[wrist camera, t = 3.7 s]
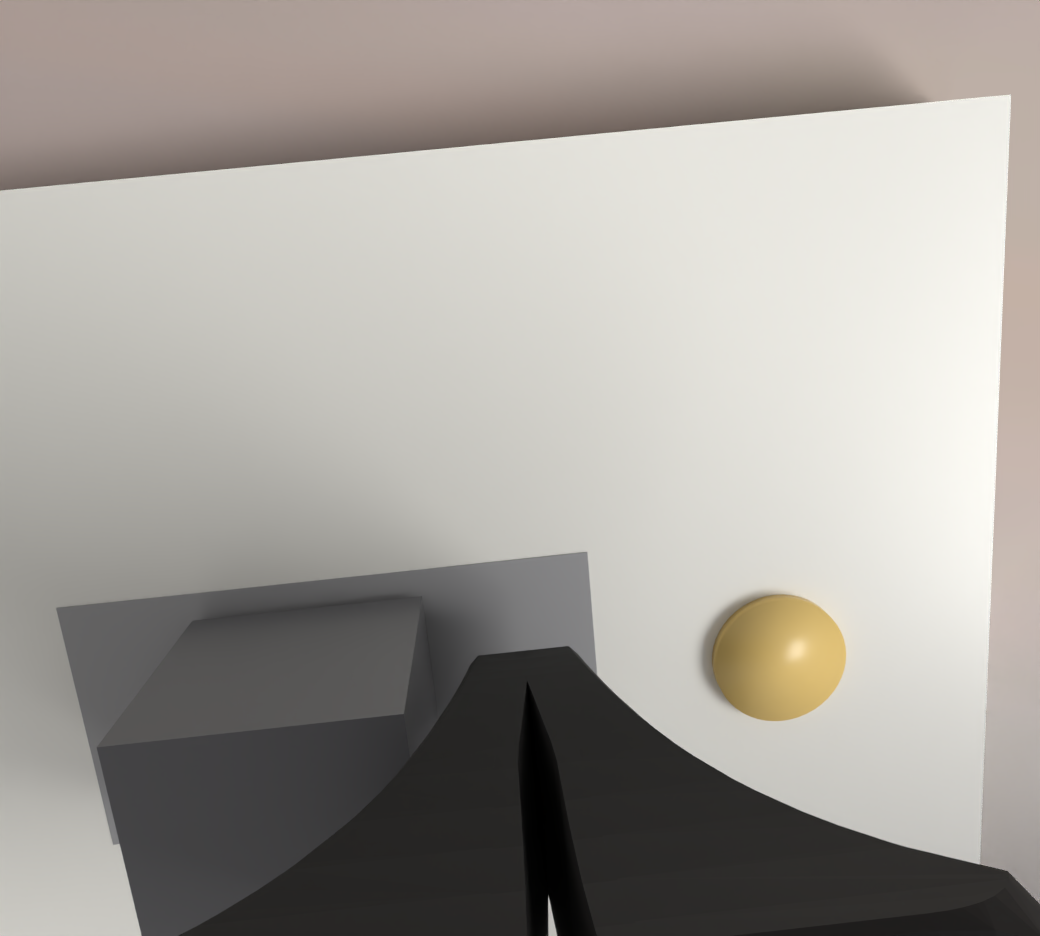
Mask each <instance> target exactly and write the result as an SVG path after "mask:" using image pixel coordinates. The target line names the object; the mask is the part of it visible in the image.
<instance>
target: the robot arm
mask: <svg viewBox="0 0 1040 936" xmlns="http://www.w3.org/2000/svg"><path fill="white" fill-rule="evenodd" d="M548 896H549V900H550V905H551V910H552V914H553V919H554V924H555V928H556V933H557V936H1040V904H1039V903H1038V902H1037V901H1036V900H1035V899H1034V898H1033V897H1032V896H1031V895H1030V894H1029V893H1028V892H1027V891H1026V890H1025V889H1024V888H1023V887H1022V886H1021V885H1020V884H1019V883H1018V882H1017V880H1016V879H1015V878H1014V877H1013V876H1012V875H1011V874H1010V873H1009V872H1008V871H1004V870H1000V869H996V868H992V867H988V866H984V865H980V864H975V863H971V862H967V861H963V860H959V859H955V858H950V857H946V856H942V855H938V854H934V853H930V852H925V851H921V850H917V849H913V848H909V847H905V846H901V845H898V844H894V843H891V842H888V841H885V840H882V839H879V838H876V837H873V836H870V835H866V834H863V833H860V832H857V831H854V830H851V829H848V828H845V827H842V826H839V825H836V824H834V823H831V822H829V821H826V820H823V819H821V818H818V817H815V816H813V815H810V814H808V813H805V812H803V811H800V810H798V809H796V808H793V807H791V806H789V805H787V804H785V803H782V802H780V801H778V800H776V799H773V798H771V797H769V796H767V795H765V794H762V793H760V792H758V791H756V790H754V789H752V788H750V787H748V786H746V785H744V784H742V783H740V782H738V781H736V780H734V779H732V778H731V777H729V776H727V775H725V774H724V773H722V772H720V771H719V770H717V769H715V768H714V767H712V766H710V765H709V764H707V763H705V762H703V761H702V760H700V759H698V758H697V757H695V756H693V755H692V754H690V753H689V752H687V751H686V750H684V749H683V748H681V747H680V746H678V745H677V744H675V743H674V742H673V741H671V740H670V739H669V738H667V737H666V736H665V735H663V734H662V733H661V732H659V731H658V730H656V729H655V728H654V727H653V726H651V725H650V724H649V723H648V722H647V721H645V720H644V719H643V718H642V717H641V716H640V715H638V714H637V713H636V712H635V711H634V710H633V709H632V708H631V707H629V706H628V705H627V704H626V703H625V702H624V701H623V700H622V699H621V698H619V697H618V696H617V695H616V694H615V693H614V692H613V691H612V690H611V689H610V688H609V687H608V686H607V685H606V684H605V683H604V682H603V681H602V680H601V679H600V678H599V677H598V676H597V675H596V674H595V673H594V672H593V670H592V669H591V668H590V667H589V666H588V665H587V664H586V663H585V662H584V660H583V659H582V658H581V657H580V656H579V655H578V654H577V653H576V652H575V651H574V650H573V649H572V648H570V647H569V646H564V647H554V648H545V649H535V650H526V651H516V652H507V653H497V654H488V655H478V656H477V657H476V659H475V660H474V661H473V662H472V663H471V664H470V666H469V668H468V670H467V672H466V674H465V676H464V678H463V680H462V682H461V684H460V685H459V687H458V689H457V691H456V692H455V694H454V696H453V697H452V699H451V701H450V702H449V704H448V705H447V707H446V708H445V710H444V711H443V713H442V714H441V716H440V717H439V719H438V720H437V722H436V723H435V725H434V726H433V728H432V729H431V731H430V732H429V733H428V735H427V736H426V738H425V739H424V740H423V742H422V743H421V744H420V745H419V747H418V748H417V749H416V750H415V752H414V753H413V754H412V755H411V757H410V758H409V759H408V760H407V762H406V763H405V764H404V765H403V767H402V768H401V769H400V770H399V772H398V773H397V774H396V775H395V776H394V778H393V779H392V780H391V781H390V782H389V783H388V784H387V785H386V787H385V788H384V789H383V790H382V791H381V792H380V793H379V794H378V795H377V796H376V797H375V798H374V799H373V800H372V801H371V802H370V803H369V804H368V805H367V806H365V807H364V808H363V809H362V810H361V811H360V812H359V813H358V814H357V815H356V816H355V817H354V818H353V819H351V820H350V821H349V822H348V823H347V824H346V825H344V826H343V827H342V828H341V829H339V830H338V831H337V832H335V833H334V834H333V835H332V836H330V837H329V838H328V839H327V840H325V841H324V842H323V843H322V844H320V845H319V846H318V847H317V848H315V849H314V850H313V851H311V852H310V853H309V854H308V855H306V856H305V857H304V858H303V859H301V860H300V861H299V862H298V863H296V864H295V865H294V866H292V867H291V868H289V869H288V870H287V871H285V872H284V873H282V874H281V875H279V876H278V877H276V878H275V879H273V880H272V881H270V882H269V883H267V884H266V885H264V886H263V887H261V888H260V889H258V890H257V891H255V892H253V893H252V894H250V895H249V896H247V897H245V898H244V899H242V900H240V901H239V902H237V903H236V904H234V905H232V906H231V907H229V908H227V909H226V910H224V911H222V912H221V913H219V914H217V915H215V916H214V917H212V918H210V919H208V920H207V921H205V922H203V923H201V924H200V925H198V926H196V927H194V928H192V929H190V930H188V931H186V932H184V933H182V934H180V935H178V936H548Z"/></svg>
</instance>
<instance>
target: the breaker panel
mask: <svg viewBox="0 0 1040 936" xmlns="http://www.w3.org/2000/svg"><path fill="white" fill-rule="evenodd" d="M1010 108H1011V95H1001V96H991V97H980V98H970V99H959V100H949V101H938V102H928V103H917V104H907V105H896V106H886V107H875V108H865V109H854V110H844V111H833V112H822V113H812V114H801V115H791V116H780V117H770V118H759V119H749V120H738V121H728V122H717V123H707V124H696V125H686V126H675V127H665V128H654V129H644V130H633V131H623V132H612V133H601V134H591V135H580V136H570V137H559V138H549V139H538V140H528V141H517V142H507V143H496V144H486V145H475V146H465V147H454V148H444V149H433V150H423V151H412V152H401V153H391V154H380V155H370V156H359V157H349V158H338V159H328V160H317V161H307V162H296V163H286V164H275V165H265V166H254V167H244V168H233V169H223V170H212V171H201V172H191V173H180V174H170V175H159V176H149V177H138V178H128V179H117V180H107V181H96V182H86V183H75V184H65V185H54V186H44V187H33V188H23V189H12V190H2V191H0V936H142V935H141V931H140V927H139V922H138V918H137V914H136V910H135V906H134V902H133V897H132V893H131V889H130V885H129V881H128V877H127V872H126V868H125V864H124V860H123V856H122V852H121V847H120V843H119V839H118V835H117V831H116V827H115V822H114V818H113V814H112V810H111V806H110V801H109V797H108V793H107V789H106V785H105V781H104V776H103V772H102V768H101V764H100V760H99V756H98V751H97V746H98V745H99V743H100V742H101V741H102V739H103V738H104V737H105V736H106V734H107V733H108V732H109V730H110V729H111V728H112V726H113V725H114V724H115V722H116V721H117V720H118V718H119V717H120V716H121V714H122V713H123V712H124V710H125V709H126V708H127V706H128V705H129V704H130V702H131V701H132V700H133V699H134V697H135V696H136V695H137V693H138V692H139V691H140V689H141V688H142V687H143V685H144V684H145V683H146V681H147V680H148V679H149V677H150V676H151V675H152V673H153V672H154V671H155V669H156V668H157V667H158V665H159V664H160V663H161V661H162V660H163V659H164V658H165V656H166V655H167V654H168V652H169V651H170V650H171V648H172V647H173V646H174V644H175V643H176V642H177V640H178V639H179V638H180V636H181V635H182V634H183V632H184V631H185V630H186V628H187V627H188V626H189V624H190V623H191V622H192V621H194V620H203V619H213V618H222V617H232V616H241V615H251V614H260V613H269V612H279V611H288V610H298V609H307V608H316V607H326V606H335V605H345V604H354V603H364V602H373V601H382V600H392V599H401V598H411V597H420V596H422V598H423V606H424V614H425V621H426V629H427V637H428V644H429V652H430V660H431V667H432V675H433V683H434V690H435V698H436V705H437V713H438V719H439V717H440V716H441V714H442V713H443V711H444V710H445V708H446V707H447V705H448V704H449V702H450V701H451V699H452V697H453V696H454V694H455V692H456V691H457V689H458V687H459V685H460V684H461V682H462V680H463V678H464V676H465V674H466V672H467V670H468V668H469V666H470V664H471V663H472V662H473V661H474V660H475V659H476V657H477V656H478V655H488V654H497V653H507V652H516V651H526V650H535V649H545V648H554V647H564V646H569V647H570V648H572V649H573V650H574V651H575V652H576V653H577V654H578V655H579V656H580V657H581V658H582V659H583V660H584V662H585V663H586V664H587V665H588V666H589V667H590V668H591V669H592V670H593V672H594V673H595V674H596V675H597V676H598V677H599V678H600V679H601V680H602V681H603V682H604V683H605V684H606V685H607V686H608V687H609V688H610V689H611V690H612V691H613V692H614V693H615V694H616V695H617V696H618V697H619V698H621V699H622V700H623V701H624V702H625V703H626V704H627V705H628V706H629V707H631V708H632V709H633V710H634V711H635V712H636V713H637V714H638V715H640V716H641V717H642V718H643V719H644V720H645V721H647V722H648V723H649V724H650V725H651V726H653V727H654V728H655V729H656V730H658V731H659V732H661V733H662V734H663V735H665V736H666V737H667V738H669V739H670V740H671V741H673V742H674V743H675V744H677V745H678V746H680V747H681V748H683V749H684V750H686V751H687V752H689V753H690V754H692V755H693V756H695V757H697V758H698V759H700V760H702V761H703V762H705V763H707V764H709V765H710V766H712V767H714V768H715V769H717V770H719V771H720V772H722V773H724V774H725V775H727V776H729V777H731V778H732V779H734V780H736V781H738V782H740V783H742V784H744V785H746V786H748V787H750V788H752V789H754V790H756V791H758V792H760V793H762V794H765V795H767V796H769V797H771V798H773V799H776V800H778V801H780V802H782V803H785V804H787V805H789V806H791V807H793V808H796V809H798V810H800V811H803V812H805V813H808V814H810V815H813V816H815V817H818V818H821V819H823V820H826V821H829V822H831V823H834V824H836V825H839V826H842V827H845V828H848V829H851V830H854V831H857V832H860V833H863V834H866V835H870V836H873V837H876V838H879V839H882V840H885V841H888V842H891V843H894V844H898V845H901V846H905V847H909V848H913V849H917V850H921V851H925V852H930V853H934V854H938V855H942V856H946V857H950V858H955V859H959V860H963V861H967V862H971V863H975V864H980V849H981V824H982V800H983V775H984V750H985V725H986V701H987V676H988V651H989V627H990V602H991V577H992V552H993V528H994V503H995V478H996V454H997V429H998V404H999V379H1000V355H1001V330H1002V305H1003V281H1004V256H1005V231H1006V206H1007V182H1008V157H1009V132H1010ZM548 936H557V933H556V928H555V924H554V919H553V914H552V910H551V905H550V900H549V896H548Z"/></svg>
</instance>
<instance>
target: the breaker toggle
mask: <svg viewBox="0 0 1040 936" xmlns="http://www.w3.org/2000/svg"><path fill="white" fill-rule="evenodd" d="M437 720H438V713H437V705H436V698H435V690H434V683H433V675H432V667H431V660H430V652H429V644H428V637H427V629H426V621H425V614H424V606H423V598H422V596H420V597H411V598H401V599H392V600H382V601H373V602H364V603H354V604H345V605H335V606H326V607H316V608H307V609H298V610H288V611H279V612H269V613H260V614H251V615H241V616H232V617H222V618H213V619H203V620H194V621H192V622H191V623H190V624H189V626H188V627H187V628H186V630H185V631H184V632H183V634H182V635H181V636H180V638H179V639H178V640H177V642H176V643H175V644H174V646H173V647H172V648H171V650H170V651H169V652H168V654H167V655H166V656H165V658H164V659H163V660H162V661H161V663H160V664H159V665H158V667H157V668H156V669H155V671H154V672H153V673H152V675H151V676H150V677H149V679H148V680H147V681H146V683H145V684H144V685H143V687H142V688H141V689H140V691H139V692H138V693H137V695H136V696H135V697H134V699H133V700H132V701H131V702H130V704H129V705H128V706H127V708H126V709H125V710H124V712H123V713H122V714H121V716H120V717H119V718H118V720H117V721H116V722H115V724H114V725H113V726H112V728H111V729H110V730H109V732H108V733H107V734H106V736H105V737H104V738H103V739H102V741H101V742H100V743H99V745H98V746H97V751H98V756H99V760H100V764H101V768H102V772H103V776H104V781H105V785H106V789H107V793H108V797H109V801H110V806H111V810H112V814H113V818H114V822H115V827H116V831H117V835H118V839H119V843H120V847H121V852H122V856H123V860H124V864H125V868H126V872H127V877H128V881H129V885H130V889H131V893H132V897H133V902H134V906H135V910H136V914H137V918H138V922H139V927H140V931H141V935H142V936H178V935H180V934H182V933H184V932H186V931H188V930H190V929H192V928H194V927H196V926H198V925H200V924H201V923H203V922H205V921H207V920H208V919H210V918H212V917H214V916H215V915H217V914H219V913H221V912H222V911H224V910H226V909H227V908H229V907H231V906H232V905H234V904H236V903H237V902H239V901H240V900H242V899H244V898H245V897H247V896H249V895H250V894H252V893H253V892H255V891H257V890H258V889H260V888H261V887H263V886H264V885H266V884H267V883H269V882H270V881H272V880H273V879H275V878H276V877H278V876H279V875H281V874H282V873H284V872H285V871H287V870H288V869H289V868H291V867H292V866H294V865H295V864H296V863H298V862H299V861H300V860H301V859H303V858H304V857H305V856H306V855H308V854H309V853H310V852H311V851H313V850H314V849H315V848H317V847H318V846H319V845H320V844H322V843H323V842H324V841H325V840H327V839H328V838H329V837H330V836H332V835H333V834H334V833H335V832H337V831H338V830H339V829H341V828H342V827H343V826H344V825H346V824H347V823H348V822H349V821H350V820H351V819H353V818H354V817H355V816H356V815H357V814H358V813H359V812H360V811H361V810H362V809H363V808H364V807H365V806H367V805H368V804H369V803H370V802H371V801H372V800H373V799H374V798H375V797H376V796H377V795H378V794H379V793H380V792H381V791H382V790H383V789H384V788H385V787H386V785H387V784H388V783H389V782H390V781H391V780H392V779H393V778H394V776H395V775H396V774H397V773H398V772H399V770H400V769H401V768H402V767H403V765H404V764H405V763H406V762H407V760H408V759H409V758H410V757H411V755H412V754H413V753H414V752H415V750H416V749H417V748H418V747H419V745H420V744H421V743H422V742H423V740H424V739H425V738H426V736H427V735H428V733H429V732H430V731H431V729H432V728H433V726H434V725H435V723H436V722H437Z"/></svg>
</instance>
